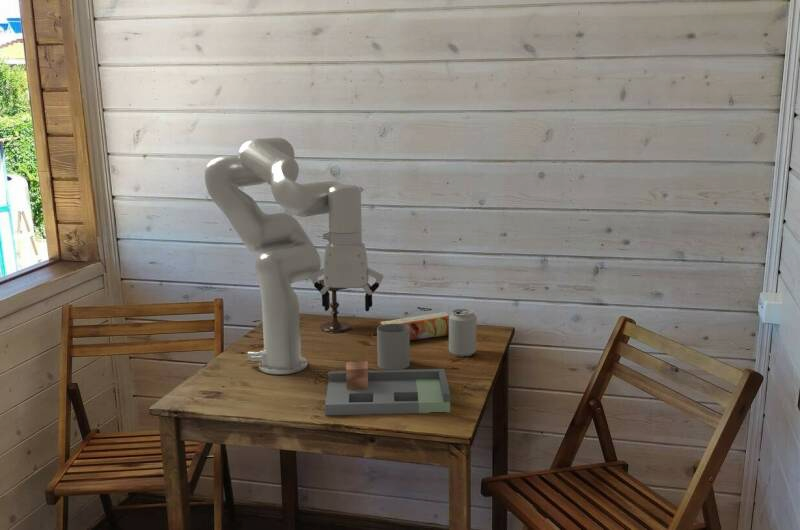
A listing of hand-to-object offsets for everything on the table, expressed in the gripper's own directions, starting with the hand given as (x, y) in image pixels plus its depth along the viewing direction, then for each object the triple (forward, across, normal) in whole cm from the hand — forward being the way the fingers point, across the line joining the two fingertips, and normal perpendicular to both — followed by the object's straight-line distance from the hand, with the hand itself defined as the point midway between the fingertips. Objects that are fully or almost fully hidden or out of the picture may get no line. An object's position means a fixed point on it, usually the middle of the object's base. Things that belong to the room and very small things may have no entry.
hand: (347, 309), depth 192 cm
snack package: (+21, +14, +41) cm, 48 cm away
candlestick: (+21, -11, +50) cm, 55 cm away
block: (+18, +2, -3) cm, 18 cm away
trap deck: (+20, +10, -6) cm, 23 cm away
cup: (+20, +9, +18) cm, 29 cm away
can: (+20, +27, +28) cm, 44 cm away
